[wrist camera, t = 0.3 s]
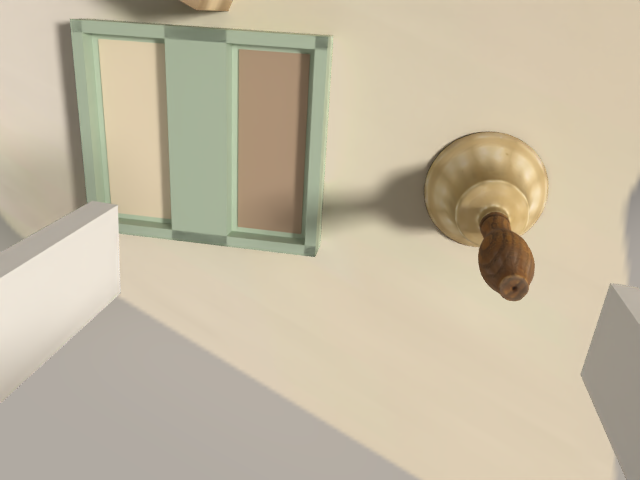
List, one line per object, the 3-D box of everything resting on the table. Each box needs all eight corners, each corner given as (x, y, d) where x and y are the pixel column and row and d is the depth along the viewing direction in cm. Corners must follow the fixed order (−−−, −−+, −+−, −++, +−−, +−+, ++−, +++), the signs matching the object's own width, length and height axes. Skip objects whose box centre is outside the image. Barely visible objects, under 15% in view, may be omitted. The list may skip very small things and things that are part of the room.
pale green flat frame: (87, 18, 41) (69, 19, 39) (333, 35, 38) (328, 36, 36) (104, 220, 46) (89, 229, 44) (320, 245, 44) (315, 256, 42)
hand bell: (423, 245, 43) (423, 367, 28) (425, 132, 40) (425, 201, 25) (542, 247, 41) (608, 376, 26) (553, 130, 38) (634, 201, 24)
